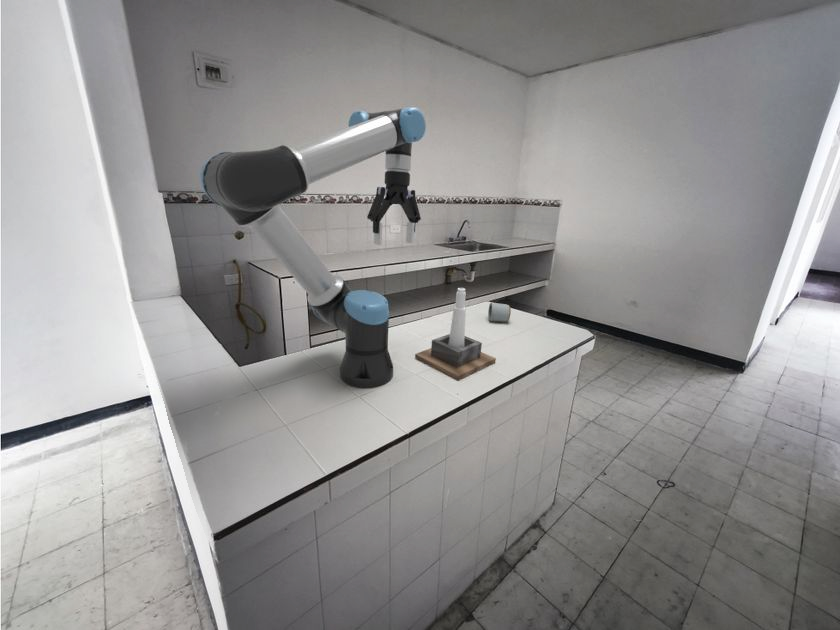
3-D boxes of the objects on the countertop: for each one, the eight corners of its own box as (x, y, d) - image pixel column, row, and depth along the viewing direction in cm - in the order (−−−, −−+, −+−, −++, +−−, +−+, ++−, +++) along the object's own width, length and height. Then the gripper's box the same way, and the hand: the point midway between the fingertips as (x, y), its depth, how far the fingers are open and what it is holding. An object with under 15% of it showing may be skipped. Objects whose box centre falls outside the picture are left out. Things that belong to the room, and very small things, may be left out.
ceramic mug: (510, 324, 150) (512, 306, 147) (489, 323, 150) (492, 305, 147) (504, 316, 160) (506, 299, 157) (485, 315, 160) (487, 298, 157)
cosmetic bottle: (442, 354, 117) (447, 287, 109) (457, 350, 120) (463, 285, 112) (453, 361, 112) (459, 292, 105) (468, 357, 115) (476, 290, 108)
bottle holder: (458, 380, 104) (460, 359, 102) (415, 358, 116) (416, 339, 114) (495, 362, 116) (497, 343, 114) (452, 343, 128) (454, 326, 126)
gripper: (417, 175, 120) (413, 240, 127) (355, 166, 103) (354, 243, 109) (434, 175, 115) (429, 243, 122) (373, 166, 98) (371, 246, 104)
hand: (394, 243), depth 115 cm, fingers open, 13 cm apart
